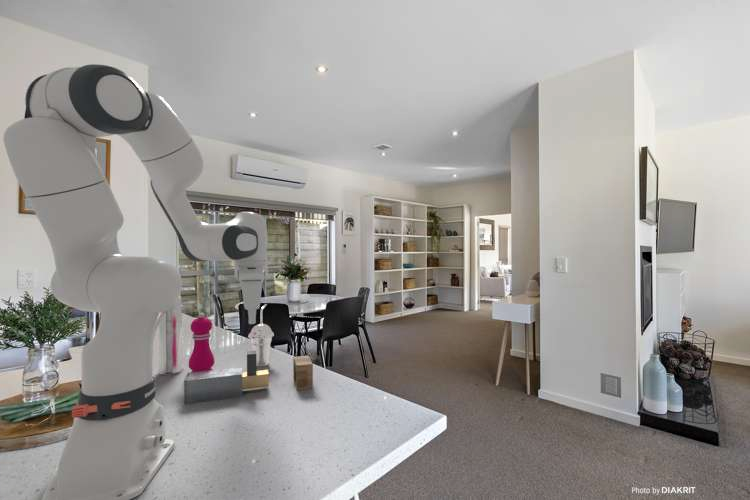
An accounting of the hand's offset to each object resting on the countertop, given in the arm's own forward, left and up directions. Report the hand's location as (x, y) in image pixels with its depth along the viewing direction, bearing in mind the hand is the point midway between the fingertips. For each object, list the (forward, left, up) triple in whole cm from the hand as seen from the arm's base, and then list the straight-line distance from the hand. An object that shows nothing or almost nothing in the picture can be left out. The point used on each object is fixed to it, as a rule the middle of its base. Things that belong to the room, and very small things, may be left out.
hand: (252, 319), depth 99 cm
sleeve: (0, +10, -20) cm, 22 cm away
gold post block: (0, +6, -19) cm, 20 cm away
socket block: (0, -14, -20) cm, 24 cm away
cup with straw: (+22, -3, -20) cm, 30 cm away
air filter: (+24, +25, -20) cm, 40 cm away
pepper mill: (+16, +15, -20) cm, 30 cm away
